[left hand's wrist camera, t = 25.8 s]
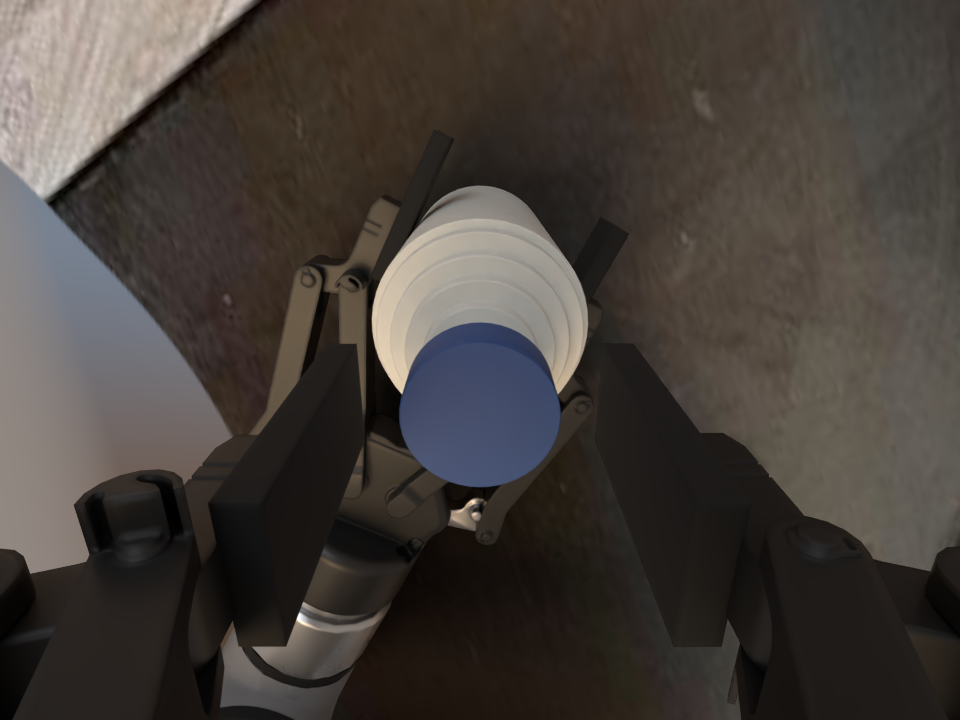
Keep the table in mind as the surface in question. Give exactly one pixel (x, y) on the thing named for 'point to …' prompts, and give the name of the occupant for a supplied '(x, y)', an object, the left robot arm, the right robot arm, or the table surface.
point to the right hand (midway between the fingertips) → (531, 181)
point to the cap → (479, 405)
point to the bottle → (479, 283)
